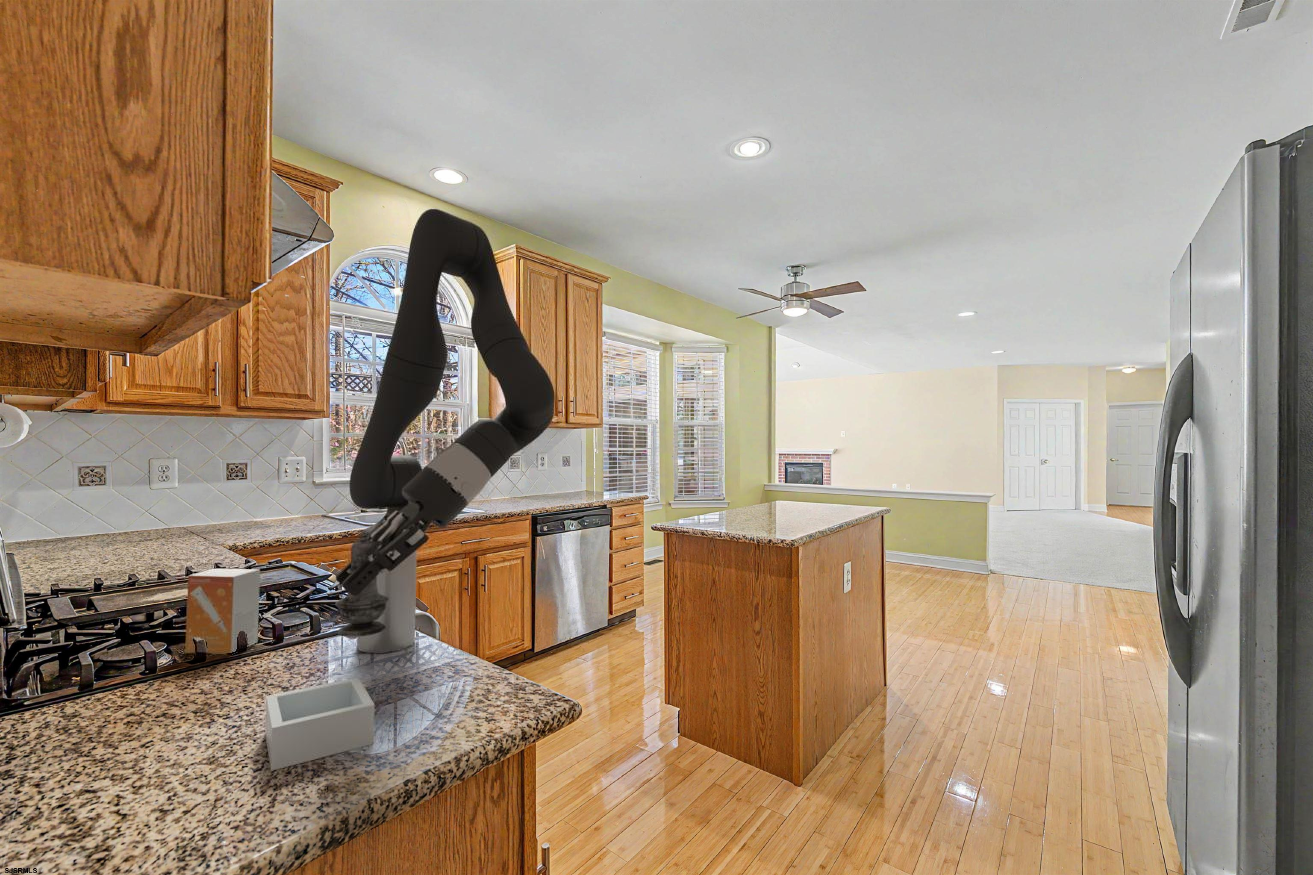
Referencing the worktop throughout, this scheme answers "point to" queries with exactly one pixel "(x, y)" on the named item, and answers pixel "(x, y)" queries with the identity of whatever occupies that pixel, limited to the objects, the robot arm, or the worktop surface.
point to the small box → (222, 608)
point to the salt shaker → (362, 598)
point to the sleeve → (318, 722)
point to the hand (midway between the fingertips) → (344, 586)
